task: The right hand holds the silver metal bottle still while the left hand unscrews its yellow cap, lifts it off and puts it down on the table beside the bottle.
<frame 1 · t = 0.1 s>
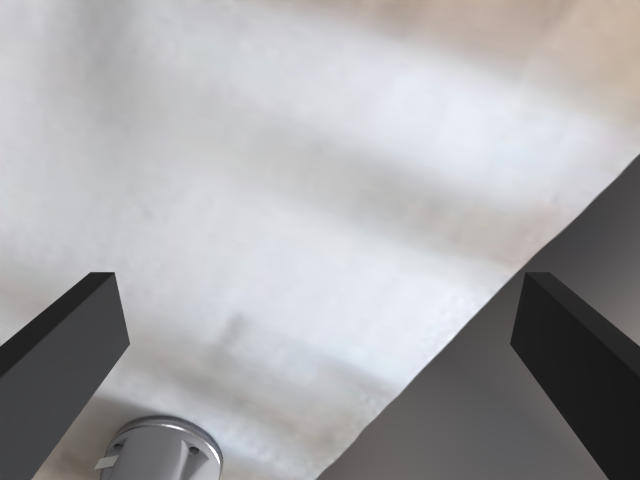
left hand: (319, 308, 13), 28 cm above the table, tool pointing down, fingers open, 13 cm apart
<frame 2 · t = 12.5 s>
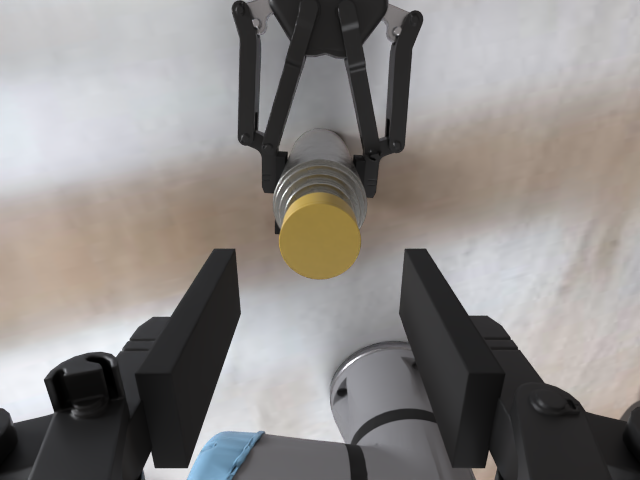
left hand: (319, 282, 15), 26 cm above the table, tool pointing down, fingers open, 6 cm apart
right hand: (317, 229, 35), fingers closed on bottle, 6 cm apart
cap: (319, 240, 18), point 22 cm above the table, screwed on, not yet turned
bottle: (319, 158, 39), on the table, touching right hand
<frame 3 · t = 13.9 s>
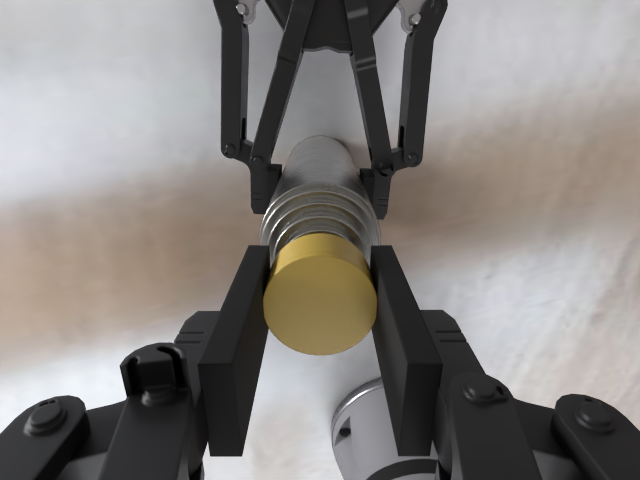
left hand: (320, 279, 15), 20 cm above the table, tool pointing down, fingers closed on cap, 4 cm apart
right hand: (316, 256, 29), fingers closed on bottle, 6 cm apart
cap: (320, 303, 13), point 22 cm above the table, screwed on, not yet turned, touching left hand
bottle: (320, 169, 33), on the table, touching right hand
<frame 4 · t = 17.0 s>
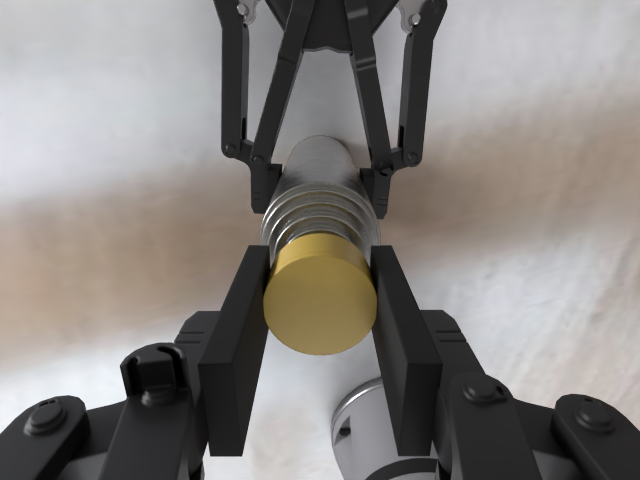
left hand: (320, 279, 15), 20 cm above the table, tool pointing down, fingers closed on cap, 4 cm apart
right hand: (316, 255, 29), fingers closed on bottle, 6 cm apart
cap: (320, 303, 13), point 22 cm above the table, turned 96° so far, risen 0.1 cm, still on its thread, touching left hand
bottle: (320, 169, 33), on the table, touching right hand
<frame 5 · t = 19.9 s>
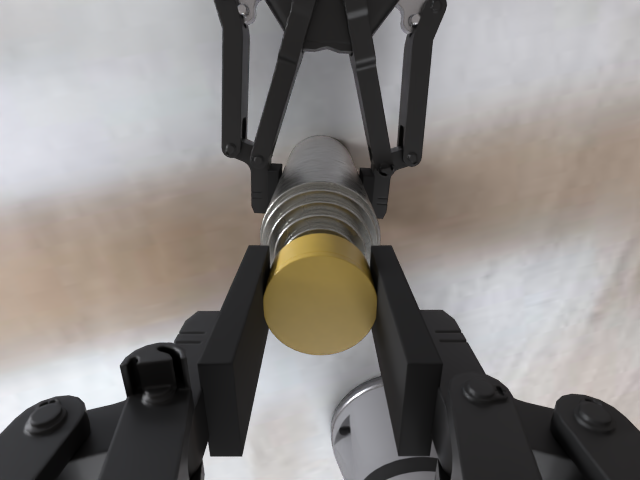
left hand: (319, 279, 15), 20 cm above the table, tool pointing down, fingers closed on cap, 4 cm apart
right hand: (316, 254, 30), fingers closed on bottle, 6 cm apart
cap: (320, 303, 13), point 22 cm above the table, turned 193° so far, risen 0.2 cm, still on its thread, touching left hand
bottle: (320, 169, 34), on the table, touching right hand
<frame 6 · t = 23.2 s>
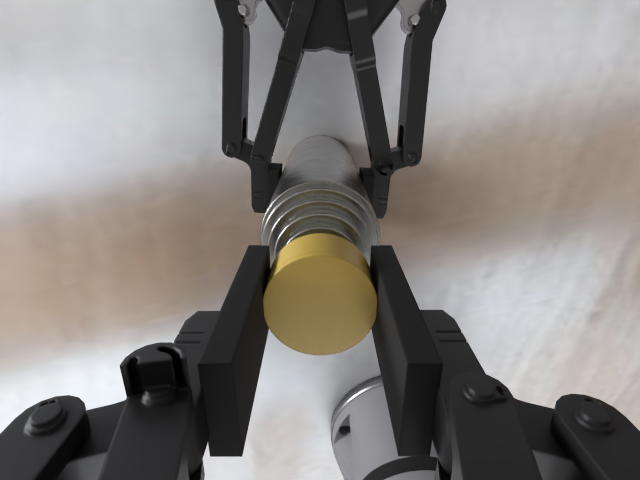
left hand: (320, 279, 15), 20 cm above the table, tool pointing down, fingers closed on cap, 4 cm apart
right hand: (316, 254, 30), fingers closed on bottle, 6 cm apart
cap: (320, 303, 13), point 22 cm above the table, turned 289° so far, risen 0.3 cm, still on its thread, touching left hand
bottle: (320, 169, 34), on the table, touching right hand
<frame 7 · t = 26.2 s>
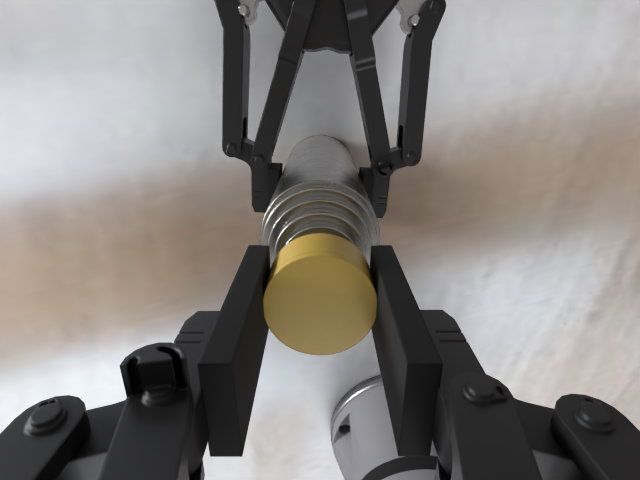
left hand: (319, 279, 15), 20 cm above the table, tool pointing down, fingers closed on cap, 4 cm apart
right hand: (316, 253, 30), fingers closed on bottle, 6 cm apart
cap: (320, 303, 13), point 22 cm above the table, turned 385° so far, risen 0.4 cm, still on its thread, touching left hand
bottle: (320, 168, 34), on the table, touching right hand
when the left hand's fingers open (1 cm above the table, at t = 32.5 s): cap drops 1 cm, point 2 cm above the table.
when the right hand's fingers open (6 cm above the table, at t = 33.7 s): bottle stays where it is, on the table.
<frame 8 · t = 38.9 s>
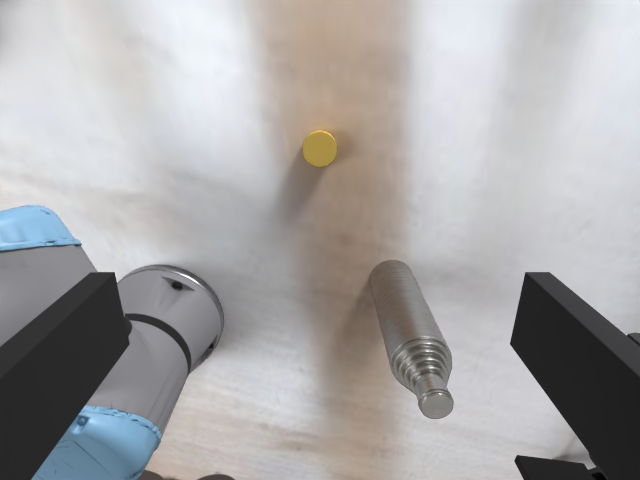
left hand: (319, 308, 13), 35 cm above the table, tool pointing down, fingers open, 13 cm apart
cap: (319, 149, 43), point 2 cm above the table, off its thread
bottle: (391, 279, 51), on the table
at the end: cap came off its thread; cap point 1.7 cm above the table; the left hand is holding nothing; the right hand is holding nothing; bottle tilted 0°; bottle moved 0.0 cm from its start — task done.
